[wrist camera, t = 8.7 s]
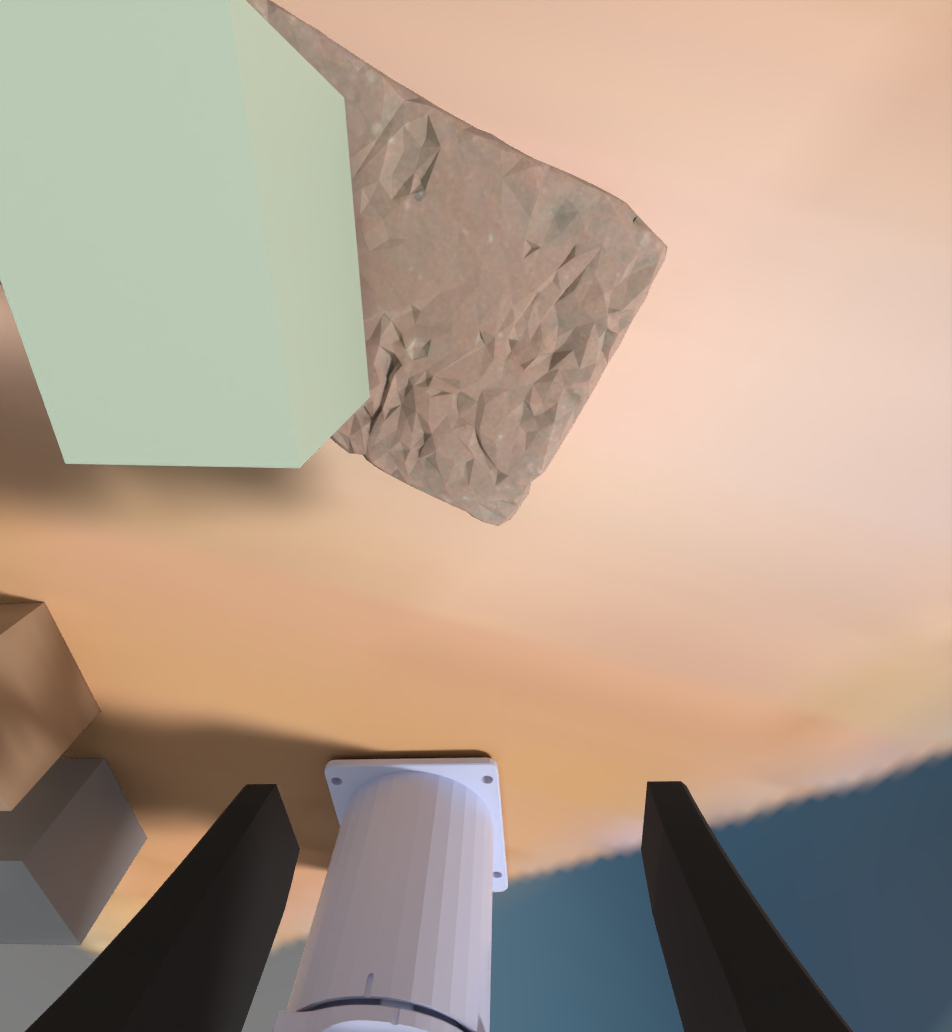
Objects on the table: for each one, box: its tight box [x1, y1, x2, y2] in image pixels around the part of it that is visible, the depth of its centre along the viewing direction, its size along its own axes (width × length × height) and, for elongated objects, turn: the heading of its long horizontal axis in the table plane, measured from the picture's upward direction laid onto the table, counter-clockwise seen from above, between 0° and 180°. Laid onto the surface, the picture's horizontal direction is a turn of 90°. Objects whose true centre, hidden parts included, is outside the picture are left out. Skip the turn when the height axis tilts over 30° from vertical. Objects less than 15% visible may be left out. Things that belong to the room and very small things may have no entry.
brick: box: [0, 0, 667, 526], centre depth 14 cm, size 17×8×5 cm, turn 64°
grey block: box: [0, 758, 147, 945], centre depth 25 cm, size 6×4×5 cm, turn 4°
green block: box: [0, 0, 370, 468], centre depth 10 cm, size 6×4×5 cm, turn 0°
